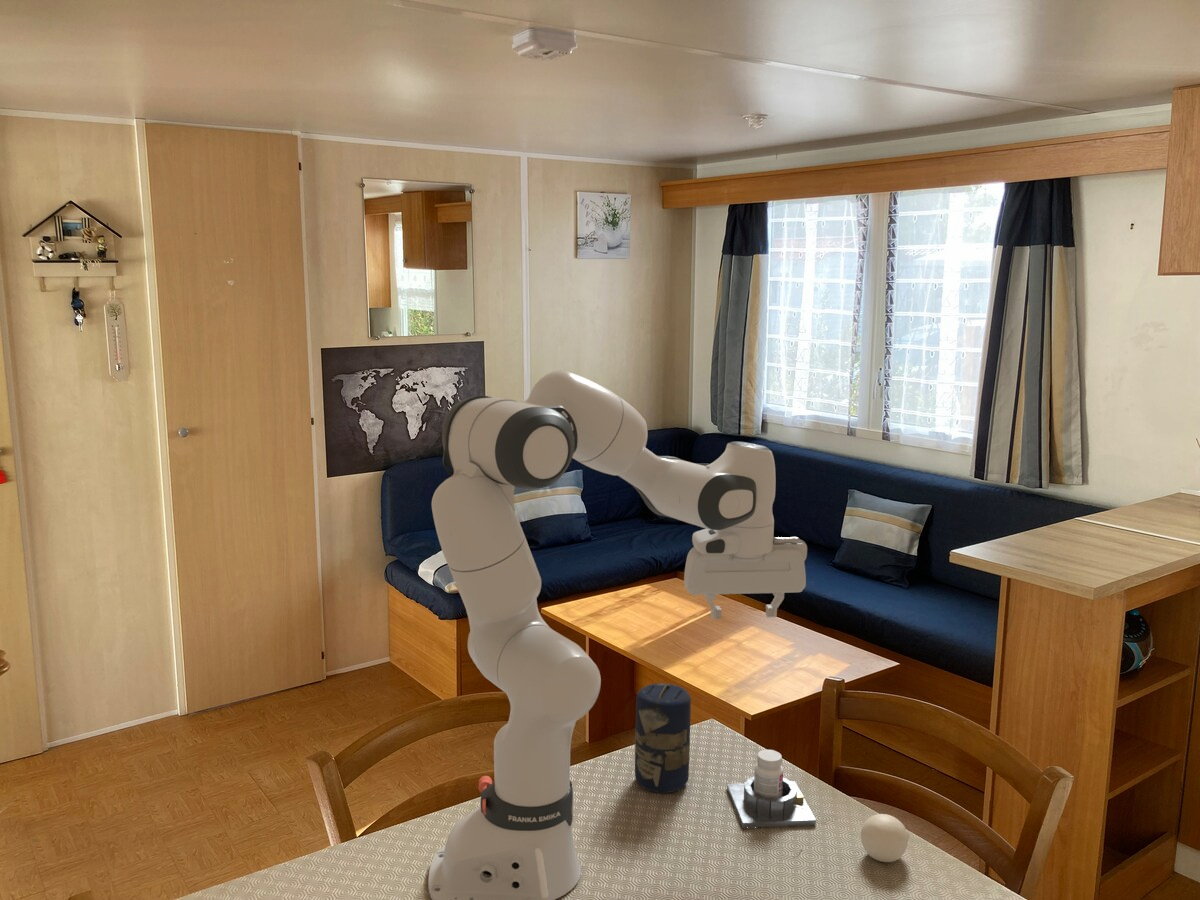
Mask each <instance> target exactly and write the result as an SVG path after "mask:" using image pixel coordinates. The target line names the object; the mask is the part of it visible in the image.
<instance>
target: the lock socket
mask: <svg viewBox="0 0 1200 900" xmlns="http://www.w3.org/2000/svg"><path fill="white" fill-rule="evenodd" d="M726 790H727V793H728V795H729V797H731V798H730V800H731V803H732V802H733V803H732V806H733V808H734V807H735V808H734V810H735V809H736V810H735V812H737V813H736V815H737V818H738V817H739V818H738V820H739V819H740V820H739V822H741V823H740V825H741V824H742V825H741V827H743V828H747V827H748V828H749V829H758V828H757V827H771V828H790V827H789V826H794V827H811V826H812V825H816V823H817V820H816V817H815V816H814V814H813V812H812V810H811V808H810V807H809V804H808V803H807V801H806V799H805V797H804V794H803V793H802V792H801V789H800V788H799V786H798V784H797V782H796V781H795V780H789V779H788V778H786V777H783V789H782V798H767V797H763V796H760V795H758V794H756V793H755V792H754V775H753V776H751V777H748V778H747V780H746V781H745V782H739V783H735V782H734V783H733V782H732V783H727V784H726ZM810 825H811V826H810ZM755 827H756V828H755ZM743 828H742V829H743Z"/></svg>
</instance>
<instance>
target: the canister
mask: <svg viewBox="0 0 1200 900" xmlns="http://www.w3.org/2000/svg"><path fill="white" fill-rule="evenodd" d="M635 704H636V705H635V735H634V776H635V780H636V781H637V783H638V784H639V786H641V787H642V788H644V789H646V790H648V791H651V792H655V793H672V792H676V791H678V790H681V789H682V788H684V787H685V786H686V784H687V783H688V780H689V777H690V749H691V747H690V746H691V716H692V715H691V713H692V711H691V710H692V697H691V695H690V693H689V692H688V691H687V690H686V689H685V688H683V687H681V686H679V685H676V684H672V683H667V682H666V683H665V682H664V683H652V684H648V685H645V686H643V687H642V688H641V689H639V691H638V692H637V694H636V702H635Z"/></svg>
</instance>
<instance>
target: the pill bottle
mask: <svg viewBox="0 0 1200 900" xmlns="http://www.w3.org/2000/svg"><path fill="white" fill-rule="evenodd" d="M782 757H783V756H782V754H781V753H780V752H778V751H776V750H774V749H763V750H760V751H759V752H758V753H757V760H756V763H755V766H754V775H753V776H754V792H755V793H756V794H758V795H760V796H763V797H767V798H782V789H783V778H784V767H783V766H782V764H783V759H782Z"/></svg>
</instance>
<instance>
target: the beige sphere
mask: <svg viewBox="0 0 1200 900" xmlns="http://www.w3.org/2000/svg"><path fill="white" fill-rule="evenodd" d="M906 829H907V827H905V825H904V824H903V823H902V822H901V821H900V820H899V819H898V818H897V817H895V816H893V815H890V814H886V813H878V814H877V813H876V814H874V815H871V816H870V817H869V818H867V819H866V820H865V822H864V823H863V824H862V826H861V830H860V842H861V844H862V847H863V849H864V850H865V852H866V853H867V854H868V855H869V856H870V857H871V858H873V859H874V860H876V861H878V862H881V863H882V862H883V863H892V862H893V863H894V862H895V861H897V860H899V859H900V858H901V857H902V856H903V855H904V854H905V853H906V850H907V848H908V845H909V838H910V836H909V832H908V831H907V830H906Z"/></svg>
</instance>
